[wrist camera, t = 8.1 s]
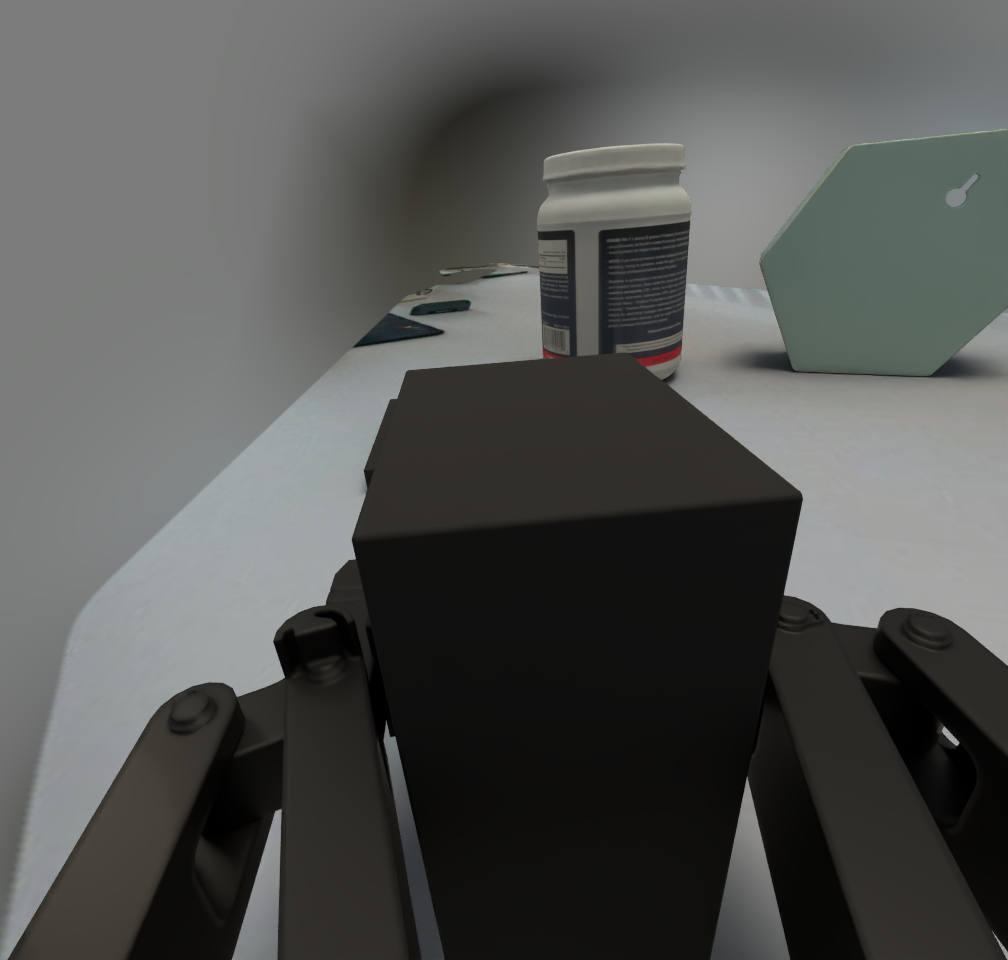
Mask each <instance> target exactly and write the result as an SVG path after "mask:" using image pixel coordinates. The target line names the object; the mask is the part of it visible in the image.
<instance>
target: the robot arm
mask: <svg viewBox="0 0 1008 960" xmlns="http://www.w3.org/2000/svg"><path fill="white" fill-rule="evenodd" d="M273 642H274V645H275V648H276V651H277V654H278V657H279V660H280V663H281V666H282V669H283V672H284V676H285V678H284V679H282V680H281V681H279V682H277V683H275V684H272V685H270V686H268V687H265V688H262V689H259V690H257V691H254V692H251V693H248V694H245V695H242V696H239V697H236V695H235V692H234V690H233V688H231V687H230V686H228V685H226V684H224V683H210V682H209V683H205V684H201V685H196V686H192V687H190V688H188V689H186V690H184V691H182V692H180V693H178V694H176V695H175V696H173V697H172V698H171V699H169V700H168V701H167V702H166V703H164V704H163V705H162V706H161V707H160V708H159V709H158V710H157V712H156V713H155V714H154V715H153V716H152V718H151V719H150V721H149V722H148V724H147V726H146V727H145V729H144V731H143V732H142V734H141V736H140V737H139V739H138V741H137V742H136V744H135V746H134V748H133V749H132V751H131V753H130V754H129V756H128V758H127V759H126V761H125V763H124V764H123V766H122V768H121V769H120V771H119V773H118V775H117V776H116V778H115V780H114V781H113V783H112V785H111V786H110V788H109V790H108V791H107V793H106V795H105V796H104V798H103V800H102V801H101V803H100V805H99V807H98V808H97V810H96V812H95V813H94V815H93V817H92V818H91V820H90V822H89V823H88V825H87V827H86V828H85V830H84V832H83V834H82V835H81V837H80V839H79V840H78V842H77V844H76V845H75V847H74V849H73V850H72V852H71V854H70V855H69V857H68V859H67V860H66V862H65V864H64V866H63V867H62V869H61V871H60V872H59V874H58V876H57V877H56V879H55V881H54V882H53V884H52V886H51V887H50V889H49V891H48V893H47V894H46V896H45V898H44V899H43V901H42V903H41V904H40V906H39V908H38V909H37V911H36V913H35V914H34V916H33V918H32V919H31V921H30V923H29V925H28V926H27V928H26V930H25V931H24V933H23V935H22V936H21V938H20V940H19V941H18V943H17V945H16V946H15V948H14V950H13V952H12V953H11V955H10V957H9V958H8V960H232V957H233V954H234V950H235V947H236V944H237V940H238V937H239V933H240V930H241V926H242V923H243V920H244V916H245V913H246V909H247V906H248V902H249V899H250V896H251V892H252V889H253V885H254V882H255V878H256V875H257V872H258V868H259V865H260V861H261V858H262V854H263V851H264V848H265V844H266V841H267V837H268V834H269V830H270V827H271V824H272V820H273V817H274V813H275V811H277V810H279V809H281V808H282V818H281V853H280V889H279V924H278V960H421V954H420V948H419V943H418V937H417V931H416V925H415V919H414V913H413V907H412V901H411V895H410V889H409V883H408V877H407V871H406V865H405V859H404V853H403V847H402V842H401V836H400V830H399V824H398V818H397V812H396V806H395V800H394V794H393V788H392V782H391V776H390V770H389V764H388V758H387V754H386V749H385V745H384V741H383V740H384V733H385V726H386V721H387V725H388V729H389V734H390V737H394V736H395V732H394V728H393V723H392V719H391V714H390V710H389V705H388V701H387V696H386V692H385V687H384V683H383V678H382V674H381V669H380V665H379V660H378V656H377V651H376V647H375V642H374V638H373V633H372V629H371V624H370V620H369V615H368V611H367V606H366V602H365V597H364V593H363V588H362V584H361V579H360V575H359V570H358V566H357V561H356V560H349V561H348V562H347V563H346V564H345V565H344V566H343V567H342V568H341V569H340V570H339V571H338V572H337V573H336V574H335V577H334V580H333V583H332V586H331V589H330V592H329V595H328V598H327V600H326V605H325V606H317V607H312V608H310V609H307V610H304V611H302V612H299V613H297V614H296V615H294V616H293V617H291V618H290V619H288V620H286V621H285V623H284V624H283V625H282V626H281V627H280V628H279V629H278V630H277V632H276V635H275V638H274V641H273ZM944 726H945V727H946V728H947V729H948V731H949V732H950V733H951V734H952V735H953V736H954V737H955V738H956V739H957V740H958V741H959V742H960V743H959V745H958V746H956V745H954V744H953V743H952V742H951V741H950V740H949V739H948V738H947V737H946V736H945V735H944V734H943V733H942V729H943V727H944ZM747 777H748V781H749V785H750V790H751V794H752V798H753V802H754V807H755V811H756V815H757V819H758V824H759V828H760V832H761V836H762V841H763V845H764V849H765V853H766V858H767V862H768V866H769V870H770V875H771V879H772V883H773V887H774V892H775V896H776V900H777V904H778V909H779V913H780V917H781V921H782V926H783V930H784V934H785V938H786V943H787V947H788V951H789V955H790V960H1007V959H1006V957H1005V955H1004V953H1003V951H1002V949H1001V947H1000V945H999V944H998V942H997V940H996V938H995V936H994V934H995V935H996V936H997V938H998V939H999V941H1000V942H1001V943H1002V945H1003V946H1004V947H1005V949H1006V950H1007V951H1008V666H1007V665H1006V664H1005V663H1003V662H1002V661H1001V660H1000V659H999V658H997V657H996V656H995V655H994V654H993V653H991V652H990V651H989V650H988V649H987V648H985V647H984V646H983V645H982V644H981V643H979V642H978V641H977V640H976V639H975V638H973V637H972V636H971V635H970V634H969V633H967V632H966V631H965V630H964V629H962V628H961V627H959V626H958V625H956V624H955V623H953V622H952V621H950V620H948V619H946V618H944V617H941V616H939V615H936V614H934V613H931V612H927V611H923V610H918V609H914V608H896V609H893V610H889V611H886V612H885V613H884V614H883V615H882V616H881V618H880V621H879V624H878V627H877V628H868V627H860V626H852V625H843V624H837V623H832V622H830V620H829V619H828V618H827V616H826V615H825V614H824V613H823V611H821V610H820V609H818V608H817V607H815V606H814V605H812V604H811V603H809V602H806V601H804V600H801V599H798V598H796V597H791V596H785V595H783V600H782V605H781V610H780V615H779V620H778V625H777V630H776V635H775V640H774V645H773V650H772V654H771V659H770V664H769V669H768V674H767V679H766V684H765V689H764V694H763V699H762V704H761V709H760V714H759V719H758V724H757V729H756V734H755V739H754V744H753V749H752V754H751V759H750V764H749V769H748V774H747ZM992 931H993V932H994V934H993V932H992Z"/></svg>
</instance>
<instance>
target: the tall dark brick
mask: <svg viewBox="0 0 1008 960" xmlns="http://www.w3.org/2000/svg"><path fill="white" fill-rule="evenodd" d="M802 501H803V497H802V494H801V492H800V491H799V490H797V489H796V488H795V487H794V486H792V485H791V484H790V483H789V482H787V481H786V480H785V479H784V478H782V477H781V476H780V475H779V474H777V473H776V472H775V471H774V470H772V469H771V468H770V467H769V466H767V465H766V464H765V463H764V462H763V461H761V460H760V459H759V458H758V457H756V456H755V455H754V454H753V453H751V452H750V451H749V450H748V449H746V448H745V447H744V446H743V445H741V444H740V443H739V442H738V441H736V440H735V439H734V438H733V437H731V436H730V435H729V434H728V433H727V432H725V431H724V430H723V429H722V428H720V427H719V426H718V425H717V424H715V423H714V422H713V421H712V420H710V419H709V418H708V417H707V416H705V415H704V414H703V413H702V412H700V411H699V410H698V409H697V408H695V407H694V406H693V405H692V404H690V403H689V402H688V401H687V400H686V399H684V398H683V397H682V396H681V395H679V394H678V393H677V392H676V391H674V390H673V389H672V388H671V387H669V386H668V385H667V384H666V383H664V382H663V381H662V380H661V379H659V378H658V377H657V376H656V375H654V374H653V373H652V372H651V371H650V370H648V369H647V368H646V367H645V366H643V365H642V364H641V363H640V362H638V361H637V360H636V359H635V358H633V357H632V356H631V355H630V354H628V353H626V352H623V353H611V354H599V355H587V356H575V357H563V358H551V359H539V360H527V361H515V362H503V363H491V364H479V365H467V366H455V367H443V368H431V369H419V370H409V371H407V372H406V374H405V377H404V380H403V383H402V386H401V390H400V393H399V396H398V399H397V402H396V405H395V408H394V411H393V414H392V417H391V420H390V423H389V426H388V429H387V432H386V435H385V439H384V442H383V445H382V448H381V451H380V454H379V457H378V460H377V463H376V466H375V469H374V472H373V475H372V478H371V481H370V485H369V488H368V491H367V494H366V497H365V500H364V503H363V506H362V509H361V512H360V515H359V518H358V521H357V524H356V527H355V530H354V534H353V537H352V543H353V548H354V552H355V557H356V561H357V566H358V570H359V575H360V579H361V584H362V588H363V593H364V597H365V602H366V606H367V611H368V615H369V620H370V624H371V629H372V633H373V638H374V642H375V647H376V651H377V656H378V660H379V665H380V669H381V674H382V678H383V683H384V687H385V692H386V696H387V701H388V705H389V710H390V714H391V719H392V723H393V728H394V732H395V737H396V741H397V746H398V750H399V755H400V759H401V764H402V768H403V773H404V777H405V782H406V786H407V791H408V795H409V800H410V804H411V809H412V813H413V818H414V822H415V827H416V831H417V836H418V840H419V845H420V849H421V854H422V858H423V863H424V867H425V872H426V876H427V881H428V885H429V890H430V894H431V899H432V903H433V908H434V912H435V917H436V921H437V926H438V930H439V935H440V939H441V944H442V948H443V953H444V957H445V960H710V957H711V952H712V947H713V942H714V937H715V932H716V927H717V922H718V918H719V913H720V908H721V903H722V898H723V893H724V888H725V883H726V878H727V873H728V868H729V863H730V858H731V853H732V848H733V843H734V838H735V833H736V828H737V823H738V818H739V813H740V808H741V803H742V798H743V793H744V788H745V784H746V779H747V774H748V769H749V764H750V759H751V754H752V749H753V744H754V739H755V734H756V729H757V724H758V719H759V714H760V709H761V704H762V699H763V694H764V689H765V684H766V679H767V674H768V669H769V664H770V659H771V654H772V650H773V645H774V640H775V635H776V630H777V625H778V620H779V615H780V610H781V605H782V600H783V595H784V590H785V585H786V580H787V575H788V570H789V565H790V560H791V555H792V550H793V545H794V540H795V535H796V530H797V525H798V520H799V516H800V511H801V506H802Z"/></svg>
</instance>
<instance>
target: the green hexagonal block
mask: <svg viewBox="0 0 1008 960" xmlns="http://www.w3.org/2000/svg"><path fill="white" fill-rule="evenodd" d="M975 174H978V178H977V180H976V181H975V182H974V183H973V184H972V185H971V186H970V188H969V189H968V190H967V191H966V200H965V202H964V203H963V204H961V205H960V206H957V207H950V206H949V205H948V204H947V203H946V200H945V198H946V195H947V193H948V192H949V191H950V190H952V189H955V188H961V187H962V186H963V185H964V184H965V183H966V182H967V181H968V180H969V179H970V178H971V177H972V176H973V175H975ZM760 268H761V271H762V274H763V277H764V280H765V284H766V287H767V290H768V293H769V296H770V299H771V303H772V306H773V309H774V312H775V315H776V319H777V322H778V325H779V328H780V331H781V334H782V338H783V341H784V344H785V347H786V350H787V353H788V356H789V359H790V362H791V365H792V368H793V369H794V370H795V371H801V372H824V373H850V374H877V375H904V376H930V375H932V374H933V373H934V372H935V371H936V370H938V369H939V368H940V367H941V366H942V365H943V364H944V363H946V362H947V361H948V360H949V359H950V358H951V357H952V356H953V355H955V354H956V353H957V352H958V351H959V350H960V349H961V348H963V347H964V346H965V345H966V344H967V343H968V342H969V341H970V340H972V339H973V338H974V337H975V336H976V335H977V334H978V333H980V332H981V331H982V330H983V329H984V328H985V327H986V326H987V325H989V324H990V323H991V322H992V321H993V320H994V319H995V318H997V317H998V316H999V315H1000V314H1001V313H1002V312H1003V311H1004V310H1006V309H1007V308H1008V129H1002V130H992V131H982V132H973V133H963V134H953V135H943V136H933V137H925V138H914V139H905V140H895V141H885V142H875V143H865V144H855V145H852V146H850V147H848V148H847V149H845V150H843V151H842V152H840V154H839V155H838V156H837V157H836V158H835V160H834V161H833V162H832V164H831V165H830V166H829V167H828V169H827V170H826V171H825V173H824V174H823V175H822V176H821V178H820V179H819V180H818V181H817V183H816V184H815V185H814V187H813V188H812V189H811V190H810V192H809V193H808V194H807V196H806V197H805V198H804V200H803V201H802V202H801V203H800V205H799V206H798V207H797V209H796V210H795V211H794V212H793V214H792V215H791V216H790V217H789V219H788V220H787V221H786V223H785V224H784V225H783V226H782V228H781V229H780V230H779V232H778V233H777V234H776V235H775V237H774V238H773V239H772V241H771V242H770V243H769V244H768V246H767V247H766V248H765V250H764V251H763V252H762V254H761V257H760Z"/></svg>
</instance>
